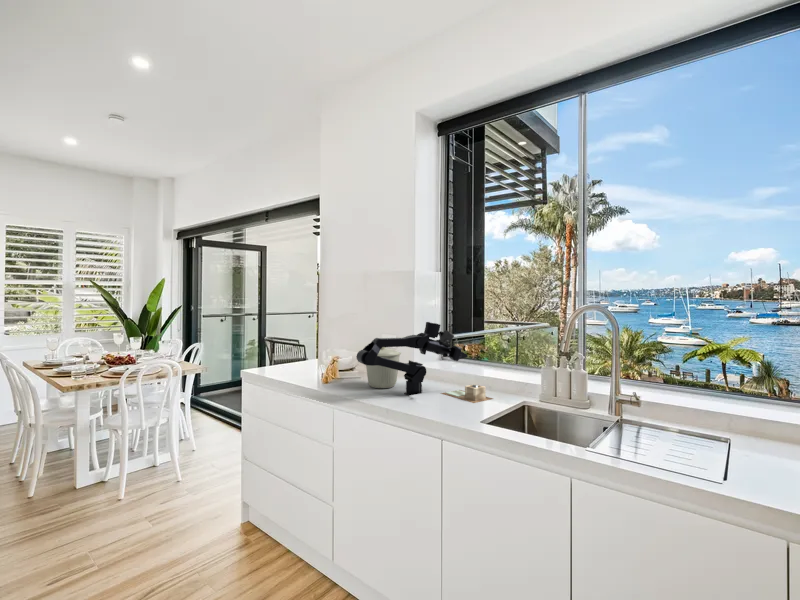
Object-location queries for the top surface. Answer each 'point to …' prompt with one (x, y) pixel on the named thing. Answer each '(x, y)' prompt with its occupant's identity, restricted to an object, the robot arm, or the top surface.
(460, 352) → the robot arm
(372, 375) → the canister
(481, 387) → the collar
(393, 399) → the top surface
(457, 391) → the board
